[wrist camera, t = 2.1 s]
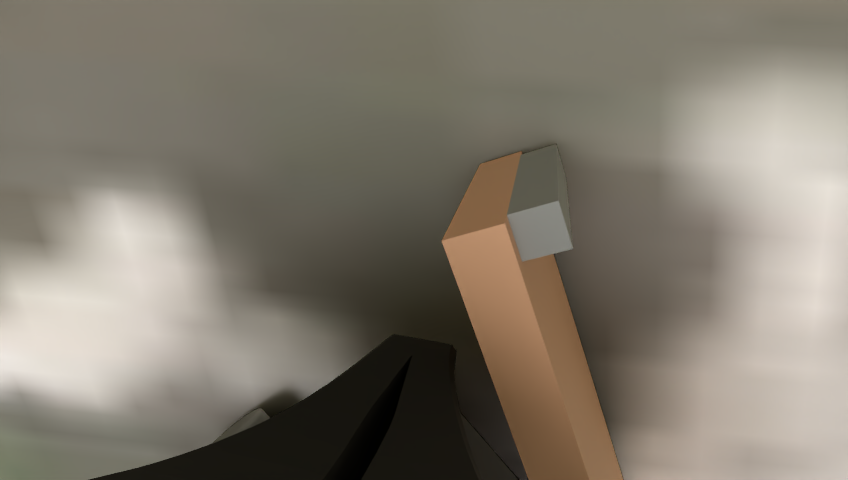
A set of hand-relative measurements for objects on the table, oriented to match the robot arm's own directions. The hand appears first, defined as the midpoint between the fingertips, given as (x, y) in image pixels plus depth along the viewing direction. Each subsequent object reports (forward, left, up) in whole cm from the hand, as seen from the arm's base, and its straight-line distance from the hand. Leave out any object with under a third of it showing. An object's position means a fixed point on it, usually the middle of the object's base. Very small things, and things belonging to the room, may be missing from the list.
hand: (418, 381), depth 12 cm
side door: (-5, -1, -3) cm, 6 cm away
